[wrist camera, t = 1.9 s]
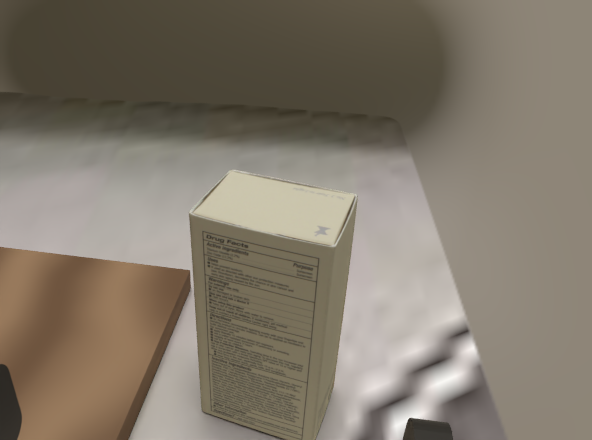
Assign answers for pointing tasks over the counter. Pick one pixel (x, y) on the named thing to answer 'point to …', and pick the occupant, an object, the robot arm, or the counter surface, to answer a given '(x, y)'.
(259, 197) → the skincare box
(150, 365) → the walnut board
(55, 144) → the counter surface
